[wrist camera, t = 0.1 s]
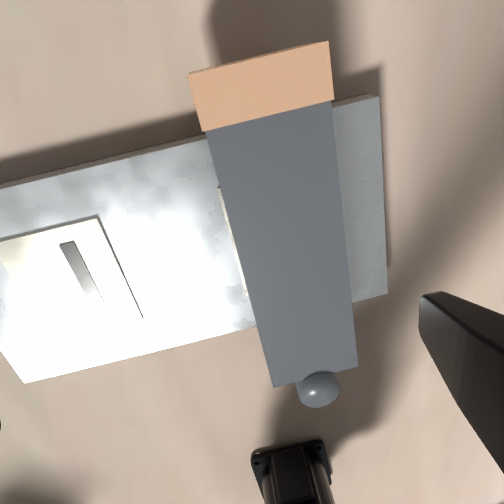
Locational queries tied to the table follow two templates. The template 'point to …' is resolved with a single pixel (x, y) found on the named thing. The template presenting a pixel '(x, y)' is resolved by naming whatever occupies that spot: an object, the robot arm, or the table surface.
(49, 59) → the table surface
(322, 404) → the swing bar
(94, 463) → the table surface
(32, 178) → the panel
